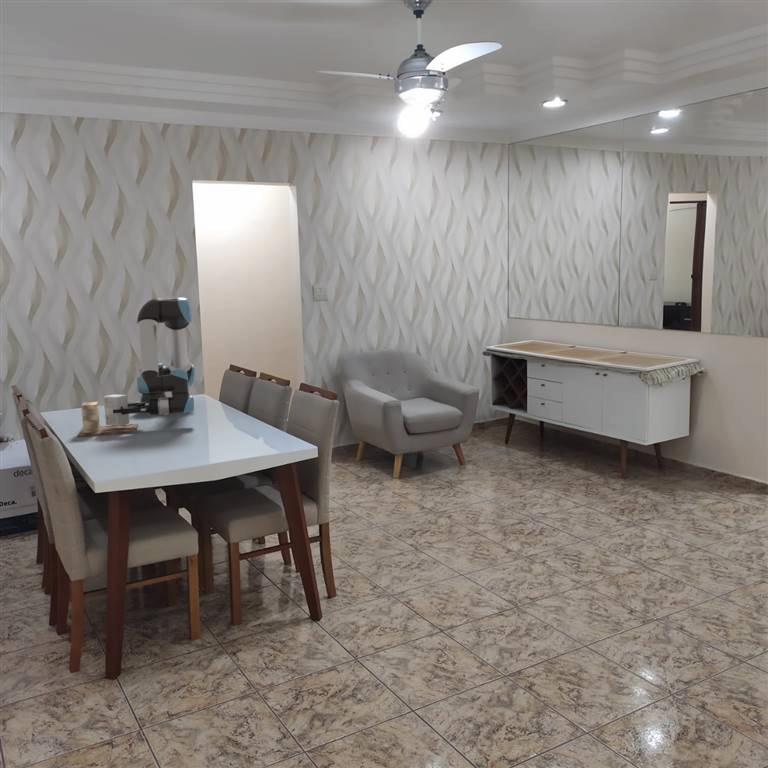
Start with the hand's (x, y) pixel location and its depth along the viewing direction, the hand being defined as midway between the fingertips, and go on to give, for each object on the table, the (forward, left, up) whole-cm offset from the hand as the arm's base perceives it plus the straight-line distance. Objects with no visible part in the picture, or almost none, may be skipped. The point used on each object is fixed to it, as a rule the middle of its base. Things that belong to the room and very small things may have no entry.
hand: (106, 409), depth 332 cm
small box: (-4, 0, -7) cm, 8 cm away
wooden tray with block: (0, 0, -10) cm, 10 cm away
